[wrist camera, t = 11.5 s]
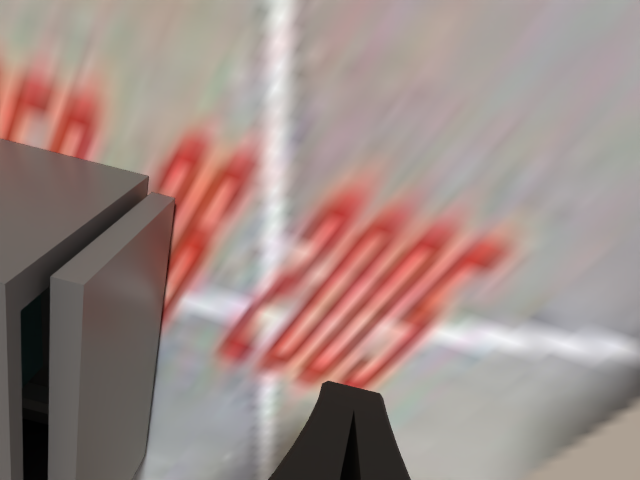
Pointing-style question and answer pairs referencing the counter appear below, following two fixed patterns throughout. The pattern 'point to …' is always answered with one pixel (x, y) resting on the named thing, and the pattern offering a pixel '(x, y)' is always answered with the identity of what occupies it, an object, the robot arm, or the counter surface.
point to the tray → (103, 347)
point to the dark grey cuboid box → (44, 265)
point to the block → (31, 340)
